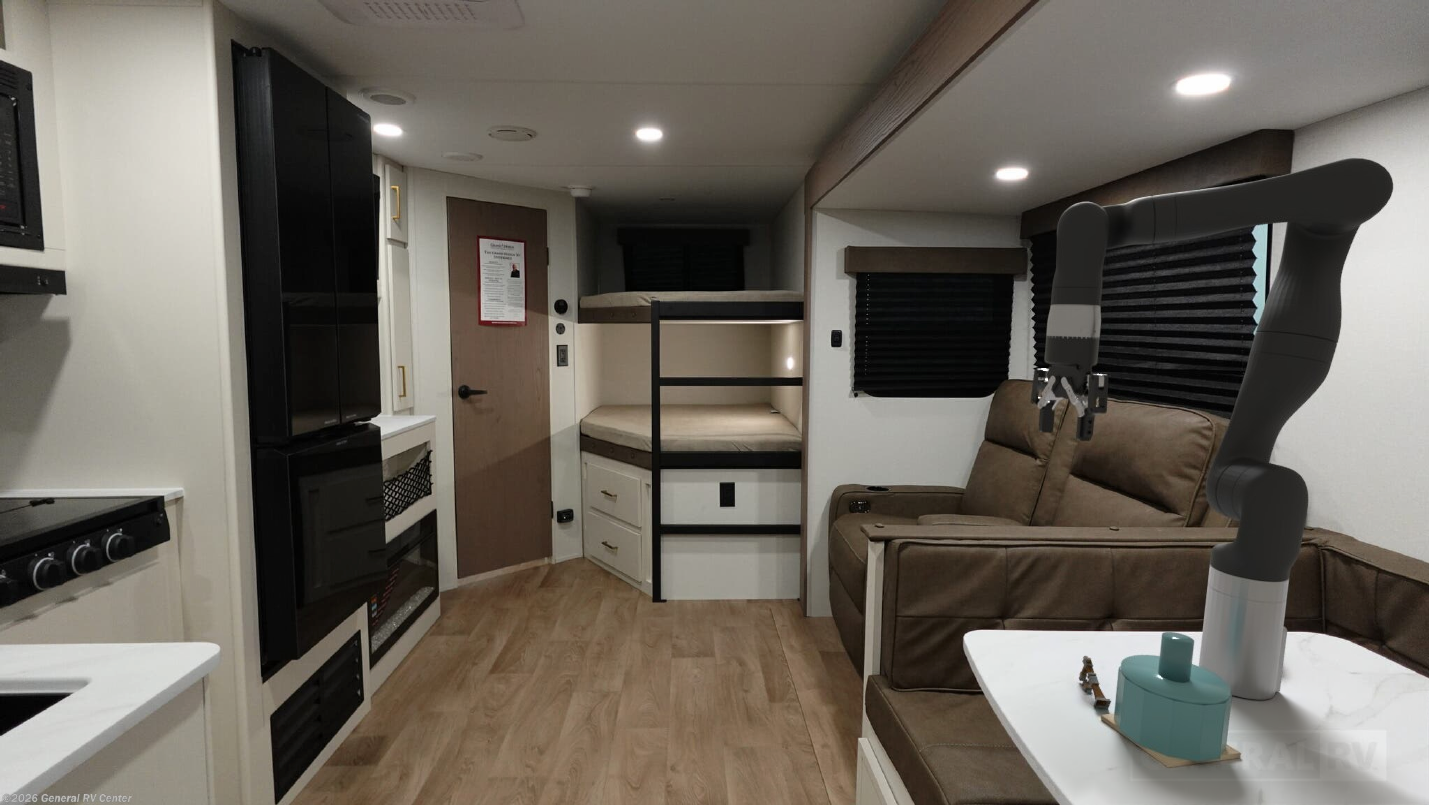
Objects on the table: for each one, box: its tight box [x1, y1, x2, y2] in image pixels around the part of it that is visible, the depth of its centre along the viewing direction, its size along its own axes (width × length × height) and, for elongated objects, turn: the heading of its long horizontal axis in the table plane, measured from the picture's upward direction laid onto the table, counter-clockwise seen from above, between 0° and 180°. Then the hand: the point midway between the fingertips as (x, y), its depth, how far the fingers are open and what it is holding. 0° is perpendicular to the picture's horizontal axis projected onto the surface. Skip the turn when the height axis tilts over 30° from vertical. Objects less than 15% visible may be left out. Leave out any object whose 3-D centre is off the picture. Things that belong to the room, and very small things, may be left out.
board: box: [1100, 712, 1242, 768], centre depth 91 cm, size 11×11×1 cm
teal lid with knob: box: [1113, 631, 1233, 762], centre depth 90 cm, size 12×12×13 cm
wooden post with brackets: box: [1078, 655, 1112, 710], centre depth 102 cm, size 2×8×4 cm, turn 172°
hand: (1063, 436), depth 115 cm, fingers open, 8 cm apart
